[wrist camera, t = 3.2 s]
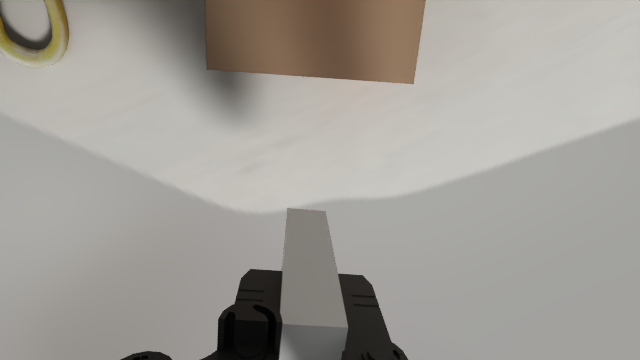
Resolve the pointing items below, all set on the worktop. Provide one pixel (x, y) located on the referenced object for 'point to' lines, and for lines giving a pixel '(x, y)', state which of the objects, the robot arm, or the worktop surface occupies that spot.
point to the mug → (43, 55)
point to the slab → (316, 38)
